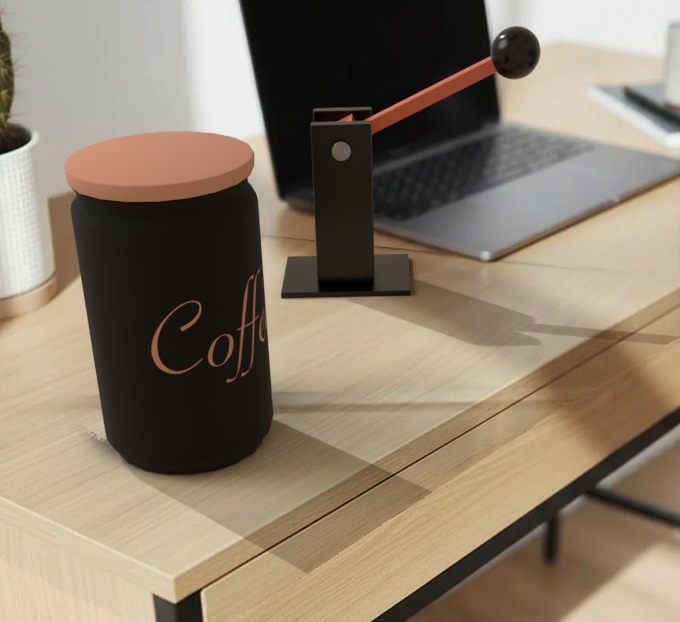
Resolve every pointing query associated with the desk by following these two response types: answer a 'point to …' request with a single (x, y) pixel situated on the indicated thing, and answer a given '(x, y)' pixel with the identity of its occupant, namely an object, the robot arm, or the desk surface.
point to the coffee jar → (174, 297)
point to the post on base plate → (344, 217)
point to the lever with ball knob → (469, 75)
